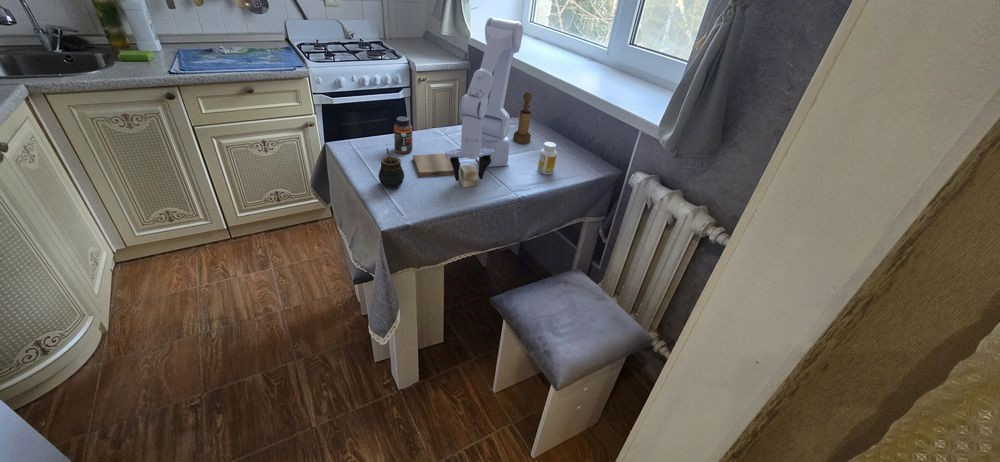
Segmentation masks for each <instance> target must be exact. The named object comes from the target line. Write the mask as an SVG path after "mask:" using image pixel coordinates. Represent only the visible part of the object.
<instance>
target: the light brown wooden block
mask: <svg viewBox="0 0 1000 462" xmlns="http://www.w3.org/2000/svg"><path fill="white" fill-rule="evenodd" d="M445 155H446V153H434V154H433V153H431V154H414V155H412V160H413V163H414V165H415V168H416V171H417V174H418V176H419V177H436V176H449V175H450V176H451V175H452V176H453V175H455V174H454V170H453V167H452V164H451V161H450V160H447V159H446V157H445Z"/></svg>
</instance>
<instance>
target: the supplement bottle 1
mask: <svg viewBox="0 0 1000 462" xmlns="http://www.w3.org/2000/svg"><path fill="white" fill-rule="evenodd" d="M393 136H394V137H393V138H394V139H393V140H394V141H393V142H394V151H395V152H396V153H399V154H404V155H405V154H409V153H411V152H413V126H412V124H411V123H410V118H409V117H407V116H398V117H396V123H395V124H394V125H393Z"/></svg>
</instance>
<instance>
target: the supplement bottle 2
mask: <svg viewBox="0 0 1000 462" xmlns="http://www.w3.org/2000/svg"><path fill="white" fill-rule="evenodd" d="M556 149H557V144H556V143H555V142H552V141H545V142H544V143H543V148H542V149H540V154H539V159H538V165H537V172H539V173H540V174H544V175H551V174H553V173H554V172H555V171H554V170H555V166H556V161H557V156H558V152H557V151H556Z"/></svg>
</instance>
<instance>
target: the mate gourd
mask: <svg viewBox="0 0 1000 462" xmlns="http://www.w3.org/2000/svg"><path fill="white" fill-rule="evenodd" d="M385 149H386V154H387V156H385V157H383V158H381V159H380V168H379V170H378V171H379V172H378V180H379V183H380V184H381V186H382V187H384V188H387V189H396V188H399V186H401V185H402V184H403V182H404V179H405V172H404V170H403V167H402V163H401V159H400V158H399V157H396V156H391V154H390V151H389V148H385Z"/></svg>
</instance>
